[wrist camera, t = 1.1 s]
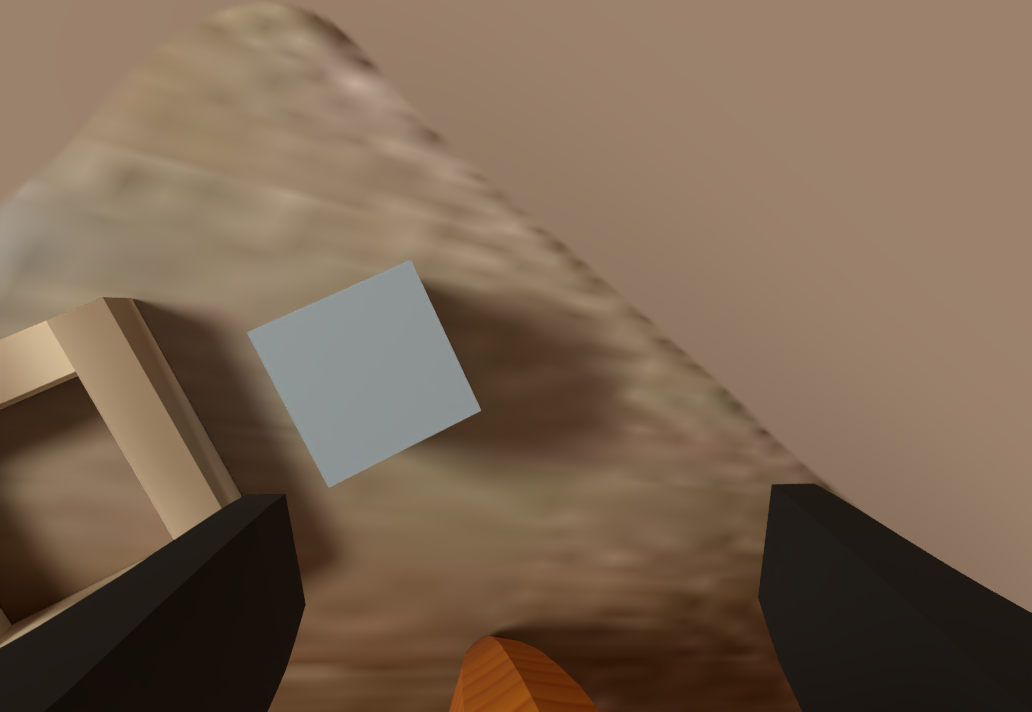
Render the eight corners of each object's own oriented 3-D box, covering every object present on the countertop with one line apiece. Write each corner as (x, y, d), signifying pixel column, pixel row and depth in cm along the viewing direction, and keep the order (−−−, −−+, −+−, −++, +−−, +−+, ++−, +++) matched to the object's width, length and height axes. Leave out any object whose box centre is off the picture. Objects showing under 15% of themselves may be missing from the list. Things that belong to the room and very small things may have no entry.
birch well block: (-13, 690, 20) (-62, 744, 18) (-188, 431, 18) (-269, 451, 16) (269, 546, 22) (259, 576, 19) (131, 298, 20) (102, 297, 18)
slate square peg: (333, 431, 22) (328, 487, 15) (278, 323, 21) (246, 332, 15) (441, 379, 23) (481, 410, 16) (390, 273, 22) (410, 259, 15)
